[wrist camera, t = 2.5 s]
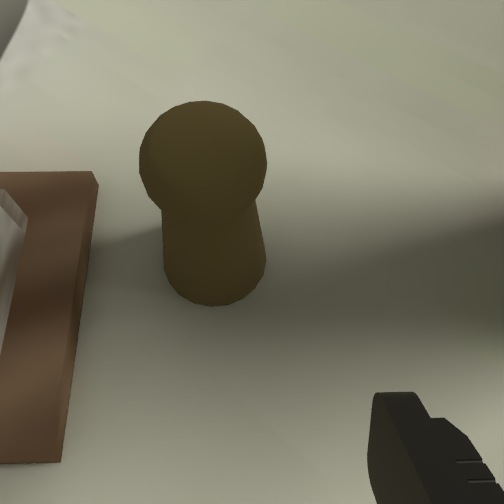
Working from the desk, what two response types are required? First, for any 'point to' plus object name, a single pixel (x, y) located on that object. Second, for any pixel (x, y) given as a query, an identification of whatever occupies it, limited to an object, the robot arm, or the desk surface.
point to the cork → (207, 199)
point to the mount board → (40, 305)
